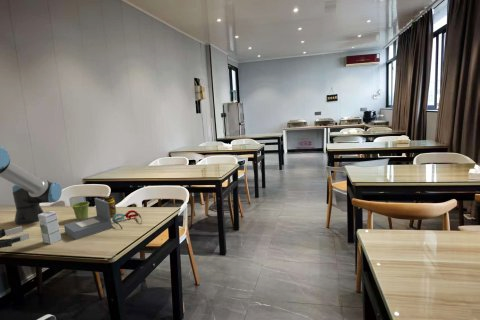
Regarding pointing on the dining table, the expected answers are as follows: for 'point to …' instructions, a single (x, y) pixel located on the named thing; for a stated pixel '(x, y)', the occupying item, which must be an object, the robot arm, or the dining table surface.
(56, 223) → the syrup box
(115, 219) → the novelty glasses
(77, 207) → the plant pot
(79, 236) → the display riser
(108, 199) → the condiment
